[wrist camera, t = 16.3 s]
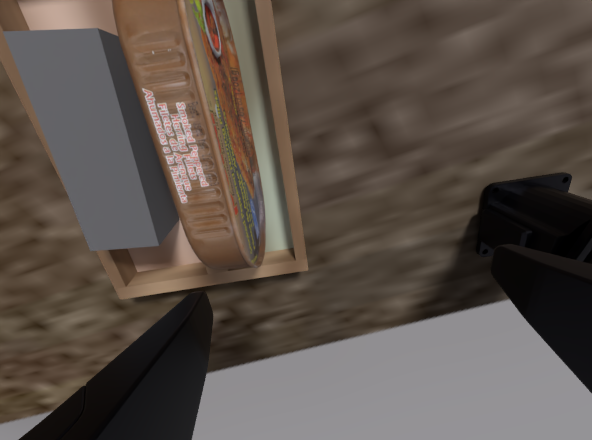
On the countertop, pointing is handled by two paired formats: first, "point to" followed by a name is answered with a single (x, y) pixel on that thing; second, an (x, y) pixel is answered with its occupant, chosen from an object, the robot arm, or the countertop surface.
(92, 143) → the bar
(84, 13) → the divided wooden tray
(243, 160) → the tin
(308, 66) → the countertop surface
